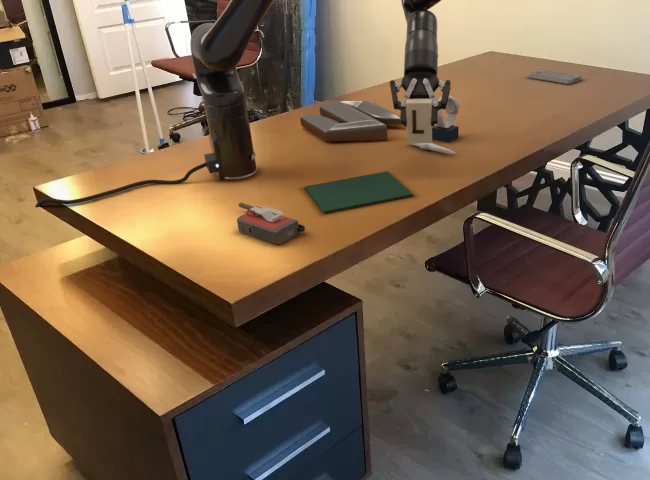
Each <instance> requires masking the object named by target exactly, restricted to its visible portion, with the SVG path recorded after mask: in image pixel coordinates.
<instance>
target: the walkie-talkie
mask: <svg viewBox="0 0 650 480" xmlns="http://www.w3.org/2000/svg"><path fill="white" fill-rule="evenodd" d="M238 207H239V208H241V209H243V210H246V213H243V214H242V215H240V216H238V217H237V218H236V223H237V229H238V232H239V233H242V234H245V235H248V236H251V237H253V238H256V239H259V240H262V241H264V242H268V243H270V244H274V245H282V244H284V243H286V242H288V241H290V240H291V239H293V238H295V237H297V236H298V235H300V233H303V232H305V231H306V226H305V225H303V224H299V220H298V219H294V218H292V217H288V216H285V215H284V213H283V211H281V210H278V209H275V208H272V207H270V206H268V207H266V208H264V207H261V206H257V205H255V206H253V205H250V204H248V203H244V202H239V203H238Z"/></svg>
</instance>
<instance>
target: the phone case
mask: <svg viewBox="0 0 650 480" xmlns="http://www.w3.org/2000/svg"><path fill="white" fill-rule="evenodd" d="M528 76H529V77H528V78H529V79H535V80H540V81H547V82H551V83H552V82H553V83H559V84H564V85H572V84H574V83H576V82H578V81H581V80H582V75H581V74H575V73H568V72H564V71H563V72H562V71H557V70H556V71H555V70H549V69H538V70H535V71H533V72H532V71H531V72H530V73H529V74H528Z"/></svg>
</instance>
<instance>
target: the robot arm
mask: <svg viewBox="0 0 650 480" xmlns="http://www.w3.org/2000/svg"><path fill="white" fill-rule="evenodd" d="M441 1H442V0H401V6H402V9H403V14H404V18H405V21H406V39H405V45H404V63H403V64H404V65H403V66H404V67H403V77H402V79H401V81H395V80H393V79H392V80H390V81H389V88H390V93H391V100H392V105H393V109H394V110H395V111H396V110H398V111H400V115H399V116H400V120H401V124H403V125H402V126H403V127H404V128H405V127H406V128H407V118H406V102H407V99H432V112H431V127H434V126H435V125H437V122H438V111H439V110H440V109H442V110H445V109H446V106H447V102H448V97H449V96H450V92H451V89H452V88H451V85H452V84H451V80H450V79H446V80H445V81H443V80H440V79H439V77H438V67H439V66H438V64H439V62H438V59H439V46H438V45H439V44H438V18H437V16H436V15H435V13H434V12H432V11H431V10H430V9H431V8H433V7H435V6H436V5H437V4H439V3H440V2H441ZM274 2H275V0H229V1H228V3H227V5H226V7H225V8H224V10H223V11H222V12H221V14H220V15H219V16H218V17H217V19H216V21H215V22H214V23H213V22H205V23H202V24H200V25H199V26H197V27H196V28H195V29H194V30H193V32H192V34H191V36H190V42H189V45H190V54H191V60H192V64H193V68H194V73H195V78H196V82H197V86H198V89H199V91H200V94H201V97H202V101H203V106H204V111H205V116H206V122H207V128H208V132H209V133H208V138H209V142H210V149H211V153H205V154H203V157H204V160H205V162H203V163H201V164H198V165H196V166H194V167H193V168H191V169H189V170H188V171H187V172H186V174H185V175H184V176H183V177H182V178H180V179H175V180H165V179H145V180H140V181H137V182H133V183H129V184H126V185H123V186H120V187H117V188H114V189H109V190H106V191H103V192H100V193H99V192H98V193H96V194H93V195H89V196H84V197H81V198H75V199H68V200H67V199H58V198H52V197H46V198H42V199H40V200H39V201H38V202H37V203H36V204H35V206H34V208H40V207H42V205H44V204H47V203H54V204H59V205H76V204H81V203H85V202H90V201H93V200H97V199H101V198H104V197H107V196H110V195H114V194H117V193H120V192H123V191H127V190H130V189H133V188H137V187H140V186H145V185H153V184H154V185H155V184H157V185H179V184H182V183H184V182H186V181H187V180H188V179H189V178H190V176H191V175H193V173H195V172H198V171H199V170H201V169H204V168H206V169H207V171H208V172H209V174H216V176H217V178H218V179H219V181H221V182H222V181H240V180H245V179H248V178H249V179H250V178H251V177H253V176H255V175H256V174H258V167H257V162H256V155H257V154H256V151H255V150H254V144H253V137H252V132H251V124H250V119H249V112H248V105H247V100H246V94H245V93H246V92H245V88H244V86H243V84H242V82H241V79H240V77H239V74H238V70H237V66H238V64H239V63H240V62H241V59H242V57H244V54H245V51H246V50H247V48H248V46H249V43H250V42H251V39H252V37H253V35H254V33H255V32H256V29H257V28H258V25H259V24H260V23H261V21H262V19H263V18H264V16H265V15H266V13H268V11H269V9H270V8H271V6H272V5H273V3H274ZM401 88H402V89H403V90H404V91H405V93H404V96H403V98H402V100H401V101H400V100H399V98H398V93H399V92H400V91H401ZM439 88H440V91H441V93H442V94H441V96H442V98H441V101H439V102H437V100H438V99H437V98H436V94H435V92H436V91H437V90H438V89H439Z"/></svg>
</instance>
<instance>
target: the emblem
mask: <svg viewBox="0 0 650 480" xmlns="http://www.w3.org/2000/svg"><path fill="white" fill-rule="evenodd" d="M319 113H320V114H316V113H305V114H303V115H302V116H300V118H299V122H300V126H301V127H302V128H304V129H306V130H307V131H309V132H311V133H312V134H315V135H316V136H317V137H319V138H321V139H323V140H324V141H326V142H365V141H366V142H367V141H368V142H369V141H370V142H372V141H373V142H374V141H387V140H388V127H389V126H390V127H399V126H404V125H403V124H401V120H400V116H401V115H399V114H397V113H396V112H393V111H391V110H390V109H387V108H386V107H383V106H382V105H379V104H377V103H375V102H370V101H367V100H331V101H329V102H326V103H321V104H320V106H319ZM387 126H388V127H387Z"/></svg>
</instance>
